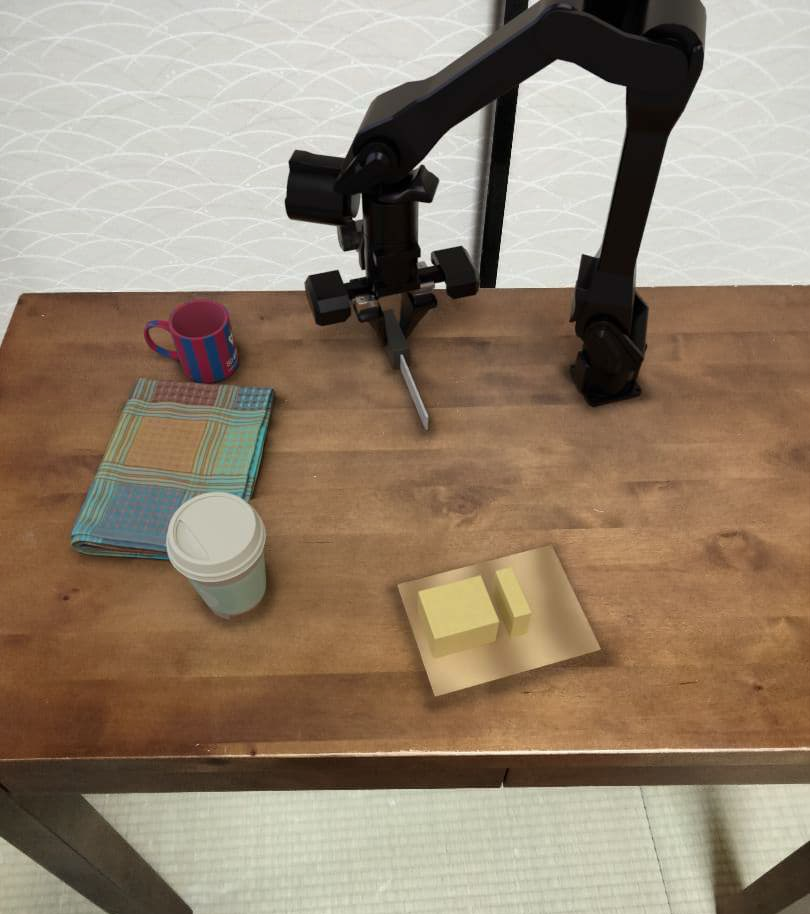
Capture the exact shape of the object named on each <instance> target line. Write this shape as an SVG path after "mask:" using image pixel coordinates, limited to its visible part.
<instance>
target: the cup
mask: <svg viewBox="0 0 810 914" xmlns="http://www.w3.org/2000/svg"><path fill="white" fill-rule="evenodd" d="M152 328H159V329H163V330H165V331H167V332H168V333H170V335H171V338H172V341H173V345H174V348H175V350H170V349H166V348H164V347H162V346H159V345H158V344H157V343H156V342H155V341H154V340H153V338H152V337H151V335H150V329H152ZM143 337H144V340H145V343H146V344H147V346H148V347H149V349H151V350H152V351H153V352H154V353H156V354H158V355H160V356H162V357H165V358H167V359H173V360H177V361H179V363H180V366H181V369H182V371H183V374H184V375H185V376H186V377H187V378H188V379H190V380H191V381H193V382H195V383H205V384H214V383H218V382H222V381H224V380H226V379H227V378H229V377H230V376H232V374H234V372H235V371H237V368H238V366H239V362H240V358H239V353H238V350H237V346H236V341H235V336H234V333H233V328H232V323H231V319H230V315H229V312H228V310H227V308H226V307H225V306H224V305H223V304H221V302H218V301H216V300H213V299H207V298H206V299H205V298H199V299H192V300H189V301H186V302H184V303H181V304H180V305H178V306H177V307H176V308H174V309H173V310H172V312H171V313H170V315H169V317H168V321H167V320H161V319H160V320H159V319H154V320H150V321H148V322H147V323H146V324H145V326H144V328H143Z"/></svg>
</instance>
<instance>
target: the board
mask: <svg viewBox="0 0 810 914" xmlns="http://www.w3.org/2000/svg"><path fill="white" fill-rule="evenodd" d="M509 567H512V569H513V571H514V574H515V576H516V578H517V580H518V583H519V585H520V587H521V590H522V592H523V594H524V597H525V599H526V601H527V604H528V606H529V608H530V610H531V617H530V620H529V624H528V628H527V632H526V633H525V634H522V635H518V636H515V637H511V638H510V636H509V634H508V631H507V629H506V626H505V624H504V621H503V619H502V617H501V614H500V612H499V609H498V607H497V604H496V602H495V599H494V597H493V595H492V589H493V583H494V577H495V571H498V570H502V569H506V568H509ZM480 575H481V577H482V580H483V582H484V585H485V587H486V590H487V592H488V594H489V597H490V599H491V602H492V604H493V607H494V609H495V612H496V614H497V617H498V619H499V626H498V631H497V636H496V641H495V642H492V643H488V644H485V645H481V646H478V647H474V648H470V649H467V650H463V651H459V652H456V653H452V654H448V655H445V656H441V657H438V658H433V655H432V653H431V650H430V647H429V644H428V641H427V638H426V635H425V632H424V629H423V627H422V624H421V621H420V618H419V615H418V592H419V591H422V590H426V589H430V588H434V587H438V586H441V585H445V584H449V583H453V582H457V581H460V580H464V579H468V578H472V577H476V576H480ZM396 586H397V588H398V589H397V590H398V592H399V594H400V597H401V601H402V604H403V607H404V609H405V612H406V615H407V619H408V622H409V624H410V627H411V631H412V633H413V636H414V638H415V642H416V645H417V648H418V650H419V654H420V658H421V660H422V662H423V666H424V669H425V672H426V674H427V677H428V680H429V683H430V686H431V689H432V692H433V695H434V697H439V696H442V695H447V694H449V693H453V692H456V691H460V690H463V689H468V688H470V687H474V686H477V685H482V684H484V683H489V682H491V681H495V680H499V679H503V678H506V677H510V676H513V675H516V674H519V673H524V672H527V671H531V670H535V669H538V668H542V667H544V666H549V665H552V664H556V663H559V662H563V661H566V660H570V659H573V658H577V657H580V656H584V655H588V654H590V653H594V652H599V651H601V650H602V649H601V645H600V644H599V642H598V639H597V637H596V635H595V633H594V631H593V629H592V627H591V625H590V623H589V620H588V618H587V616H586V614H585V612H584V610H583V607H582V606H581V603H580V602H579V599H578V597H577V595H576V593H575V590H574V589H573V587H572V584H571V582H570V580H569V578H568V576H567V574H566V572H565V570H564V568H563V566H562V563H561V561H560V559H559V557H558V555H557V552H556V551H555V548H554V547H553V545H552V544H548V545H545V546H541V547H537V548H533V549H529V550H525V551H521V552H518V553H513V554H510V555H506V556H501V557H498V558H494V559H491V560H487V561H483V562H479V563H475V564H471V565H467V566H464V567H459V568H455V569H451V570H448V571H444V572H440V573H436V574H433V575H429V576H425V577H420V578H417V579H413V580H409V581H405V582H401V583H398V584H397V585H396Z"/></svg>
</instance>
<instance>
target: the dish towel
mask: <svg viewBox="0 0 810 914" xmlns="http://www.w3.org/2000/svg"><path fill="white" fill-rule="evenodd" d="M276 397H277V395H276V390H275V388H274V387H272V386H266V387H265V386H248V385H235V384H220V383H217V384H216V383H215V384H214V383H200V382H196V381H193V382H192V381H180V380H176V381H175V380H164V379H151V378H147V377H142V376H141V377H140V378H138V379H137V380H135V382H134V384H133V387H132V389H131V392H130V394H129V396H128V399H127V401H126V402H125V405H124V407H123V410H122V412H121V414H120V415H119V418H118V420H117V423H116V426H115V428H114V431H113V433H112V435H111V437H110V440H109V443H108V444H107V446H106V450H105V452H104V454H103V457H102V458H101V459H102V460H101V461H100V464H99V466H98V469H97V471H96V474H95V476H94V479H93V481H92V483H91V485H90V488H89V489H88V492H87V494H86V497H85V499H84V502H83V504H82V506H81V509H80V511H79V513H78V515H77V516H76V520H75V522H74V525H73V528H72V530H71V532H70V535H69V537H70V540H71V542H70V547H71V548H72V549H73V550H74V551H76V552H77V553H82V554H85V555H89V556H104V557H119V558H120V557H121V558H122V557H123V558H140V559H155V560H167V561H170V559H169V556H168V553H167V545H166V537H167V532H168V528H169V524H170V521H171V519H172V517H173V515H174V513H175V512H176V511H177V510H178V509H179V507H180V506H182V505H183V504H184V503H185V502H187V501H188V500H190V499H191V498H194V497H196V496H198V495H201V494H205V493H210V492H225V493H230V494H233V495H236V496H238V497H240V498H241V499H243V500H244V501H245V502H247V503H248V504H249V505H250V501H251V500H252V498H253V494H254V490H255V486H256V482H257V478H258V473H259V469H260V466H261V461H262V457H263V450H264V444H265V441H266V438H267V437H266V436H267V431H268V427H269V423H270V420H271V415H272V412H273V408H274V405H275V400H276Z"/></svg>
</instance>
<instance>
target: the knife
mask: <svg viewBox="0 0 810 914" xmlns="http://www.w3.org/2000/svg"><path fill="white" fill-rule="evenodd" d="M382 311H383V313H384V316H385V324H386V333H387V345H386V346H385V347H383V348H384V350H385V353H386V355H387V357H388V361H389V363H390V365H391V367H392V370H394V371H396V370H399V369H400V371H401V374H402V376H403V379H404V381H405V383H406V386H407V388H408V391H409V393H410V396H411V398H412V402H413V403H414V405H415V408H416V410H417V413H418V415H419V418H420V421H421V422H422V425H423V428H424V430H425V431H428V430H429V414H428V412H427V410H426V407H425V405H424V403H423V400H422V398H421V396H420V393H419V391H418V388H417V385H416V384H415V380H414V378H413V376H412V374H411V371H410V369H409V367H410V346H409V344H408V340H407V341H406V339H405V336H404V334H403V332H402V329H401V327H400V325H399V322H400V321H399V319H398V318H397V316H396V315H397V314H396V313H395V311H394V308H389V309H385V310H382Z"/></svg>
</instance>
